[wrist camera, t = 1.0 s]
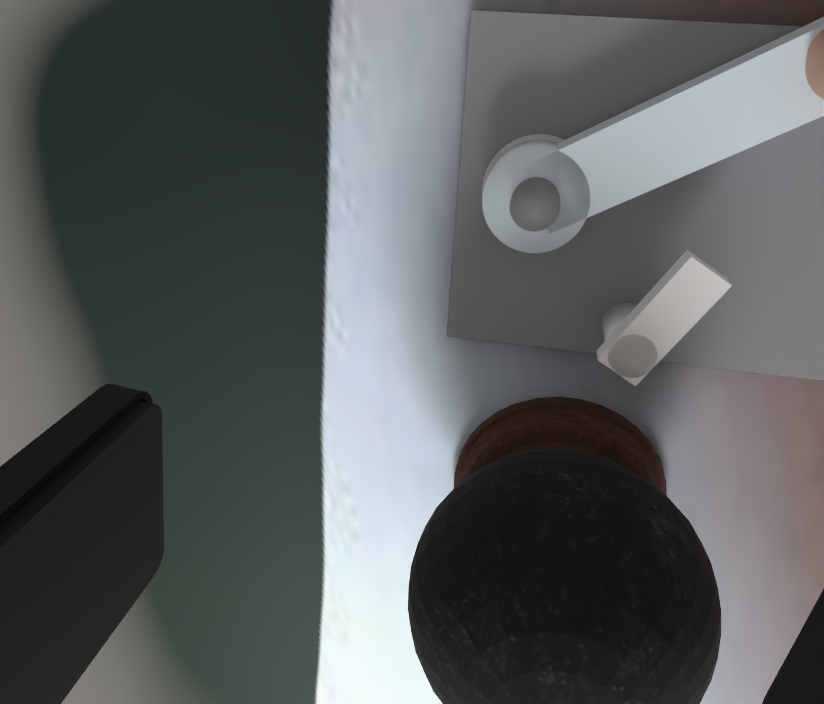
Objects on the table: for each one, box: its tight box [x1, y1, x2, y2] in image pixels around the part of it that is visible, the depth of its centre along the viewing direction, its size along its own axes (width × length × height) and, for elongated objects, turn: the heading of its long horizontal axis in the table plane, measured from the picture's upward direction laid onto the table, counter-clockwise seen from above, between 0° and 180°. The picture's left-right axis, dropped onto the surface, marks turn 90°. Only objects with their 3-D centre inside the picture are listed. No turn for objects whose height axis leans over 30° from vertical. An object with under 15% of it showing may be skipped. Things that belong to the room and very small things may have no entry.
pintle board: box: [447, 10, 824, 386], centre depth 29 cm, size 18×14×5 cm
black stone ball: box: [408, 397, 721, 704], centre depth 31 cm, size 13×13×15 cm
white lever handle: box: [482, 17, 824, 253], centre depth 25 cm, size 16×4×8 cm, turn 117°
